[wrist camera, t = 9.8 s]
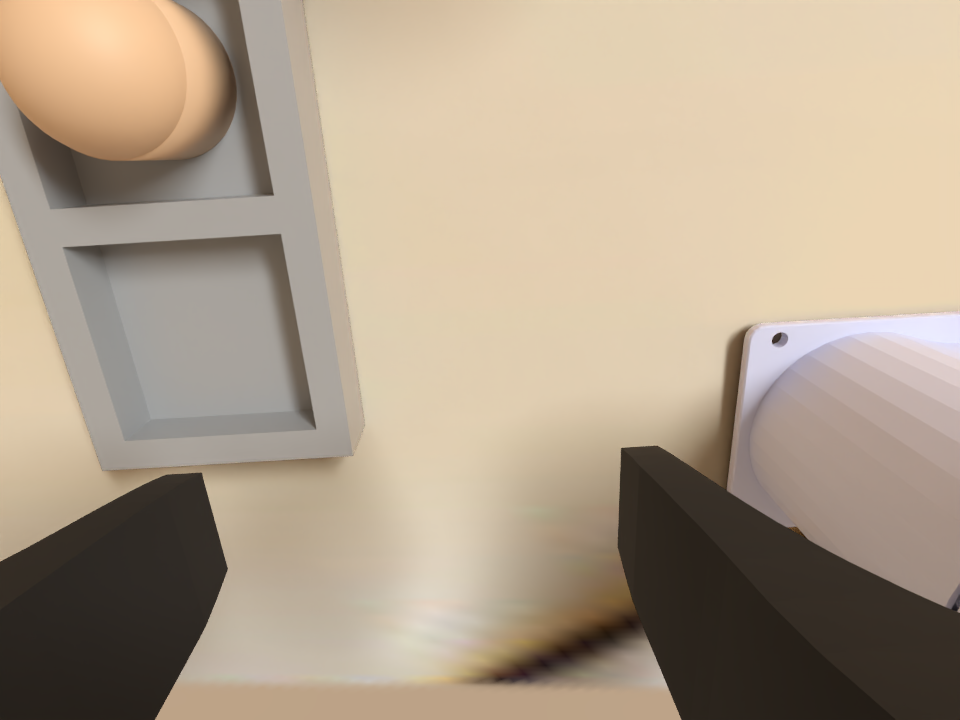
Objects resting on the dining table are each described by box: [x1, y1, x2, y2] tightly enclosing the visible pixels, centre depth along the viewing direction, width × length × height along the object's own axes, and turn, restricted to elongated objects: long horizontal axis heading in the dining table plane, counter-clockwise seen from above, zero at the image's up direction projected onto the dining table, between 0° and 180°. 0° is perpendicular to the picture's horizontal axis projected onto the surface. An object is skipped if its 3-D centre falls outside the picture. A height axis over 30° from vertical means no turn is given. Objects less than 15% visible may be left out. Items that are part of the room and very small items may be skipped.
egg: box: [0, 0, 237, 161], centre depth 13 cm, size 4×4×4 cm
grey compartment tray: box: [0, 0, 365, 471], centre depth 15 cm, size 8×22×2 cm, turn 3°
